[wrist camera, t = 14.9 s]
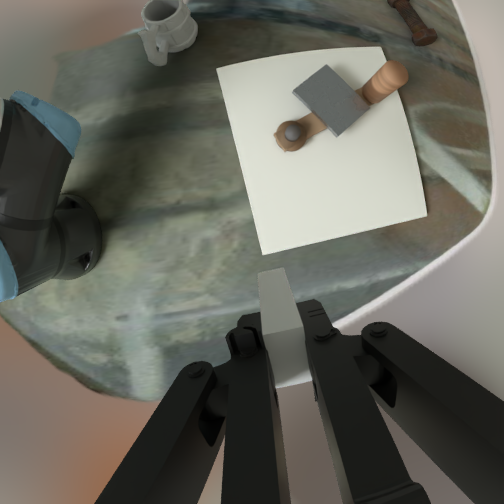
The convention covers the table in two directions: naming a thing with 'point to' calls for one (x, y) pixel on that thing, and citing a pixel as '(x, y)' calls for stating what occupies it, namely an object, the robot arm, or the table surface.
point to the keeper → (331, 100)
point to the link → (372, 92)
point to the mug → (166, 29)
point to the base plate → (320, 152)
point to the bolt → (414, 23)
